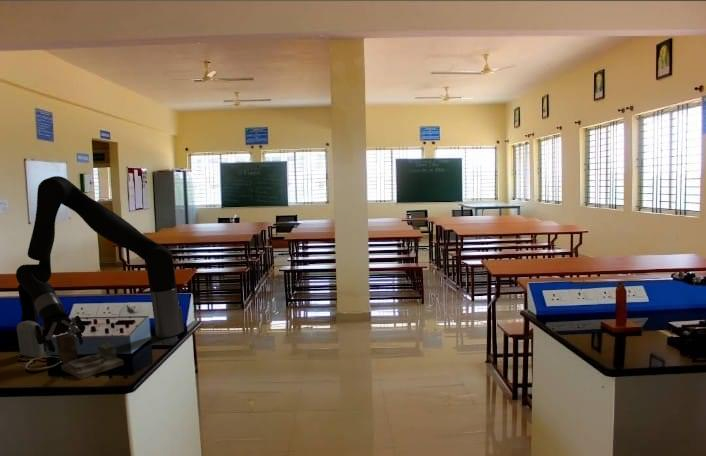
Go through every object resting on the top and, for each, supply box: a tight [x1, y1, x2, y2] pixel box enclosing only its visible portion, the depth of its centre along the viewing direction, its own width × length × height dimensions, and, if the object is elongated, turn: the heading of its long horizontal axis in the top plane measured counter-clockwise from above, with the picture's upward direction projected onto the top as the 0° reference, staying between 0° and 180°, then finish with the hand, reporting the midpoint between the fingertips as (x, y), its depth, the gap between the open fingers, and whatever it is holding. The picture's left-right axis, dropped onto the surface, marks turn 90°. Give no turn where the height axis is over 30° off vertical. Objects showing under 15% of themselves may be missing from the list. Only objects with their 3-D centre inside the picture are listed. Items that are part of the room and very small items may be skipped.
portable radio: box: [17, 284, 44, 337], centre depth 202 cm, size 8×6×25 cm
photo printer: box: [16, 321, 46, 358], centre depth 180 cm, size 10×4×12 cm, turn 60°
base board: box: [61, 342, 125, 380], centre depth 161 cm, size 13×15×6 cm
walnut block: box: [55, 332, 79, 365], centre depth 169 cm, size 4×5×9 cm
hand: (68, 347), depth 168 cm, fingers open, 8 cm apart
